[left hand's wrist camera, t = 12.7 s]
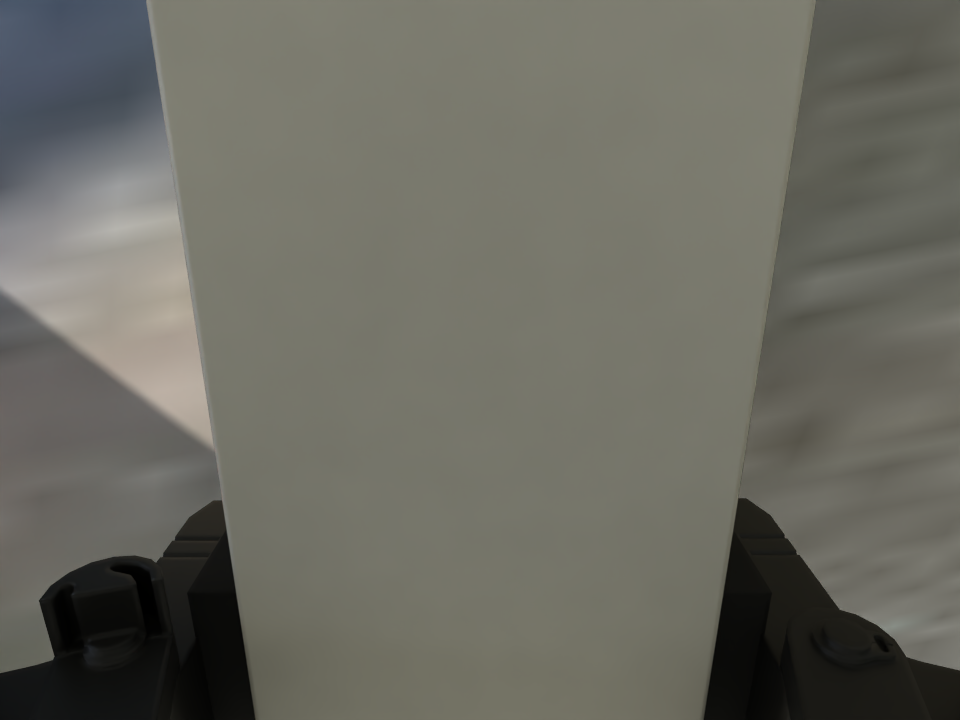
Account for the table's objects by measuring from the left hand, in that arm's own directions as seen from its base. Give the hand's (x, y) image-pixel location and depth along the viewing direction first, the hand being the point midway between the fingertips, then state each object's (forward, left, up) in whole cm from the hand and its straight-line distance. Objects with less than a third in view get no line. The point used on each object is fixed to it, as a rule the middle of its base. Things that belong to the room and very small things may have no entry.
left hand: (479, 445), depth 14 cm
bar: (+3, +27, -1) cm, 27 cm away
